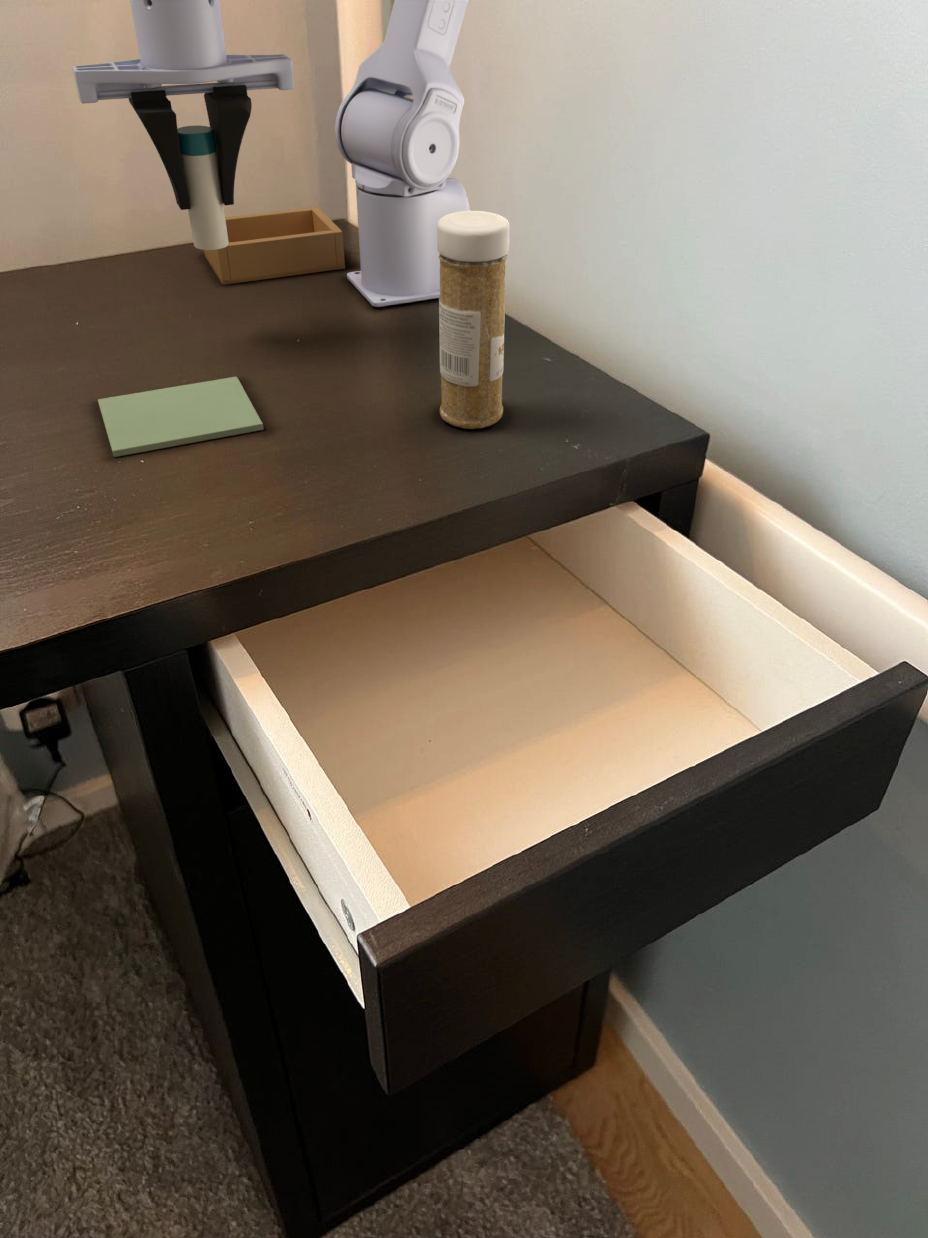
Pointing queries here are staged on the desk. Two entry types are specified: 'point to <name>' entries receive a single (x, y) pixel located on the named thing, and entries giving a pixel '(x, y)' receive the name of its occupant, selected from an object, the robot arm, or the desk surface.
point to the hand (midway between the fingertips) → (205, 203)
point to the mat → (178, 416)
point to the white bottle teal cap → (203, 187)
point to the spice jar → (472, 316)
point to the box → (278, 246)
